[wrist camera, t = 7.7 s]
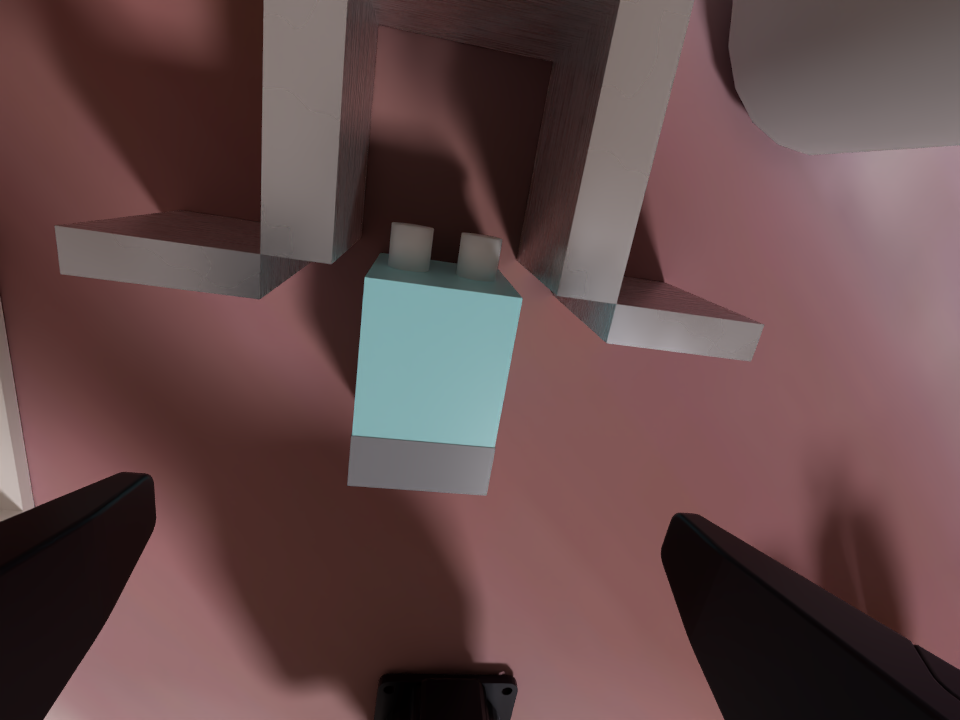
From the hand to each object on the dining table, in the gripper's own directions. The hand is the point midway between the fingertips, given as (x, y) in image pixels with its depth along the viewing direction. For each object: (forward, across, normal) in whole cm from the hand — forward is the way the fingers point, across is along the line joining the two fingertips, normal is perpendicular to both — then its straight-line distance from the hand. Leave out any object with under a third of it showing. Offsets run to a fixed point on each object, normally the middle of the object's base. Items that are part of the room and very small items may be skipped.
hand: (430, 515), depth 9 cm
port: (+10, 0, -6) cm, 11 cm away
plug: (+10, 0, 0) cm, 10 cm away
